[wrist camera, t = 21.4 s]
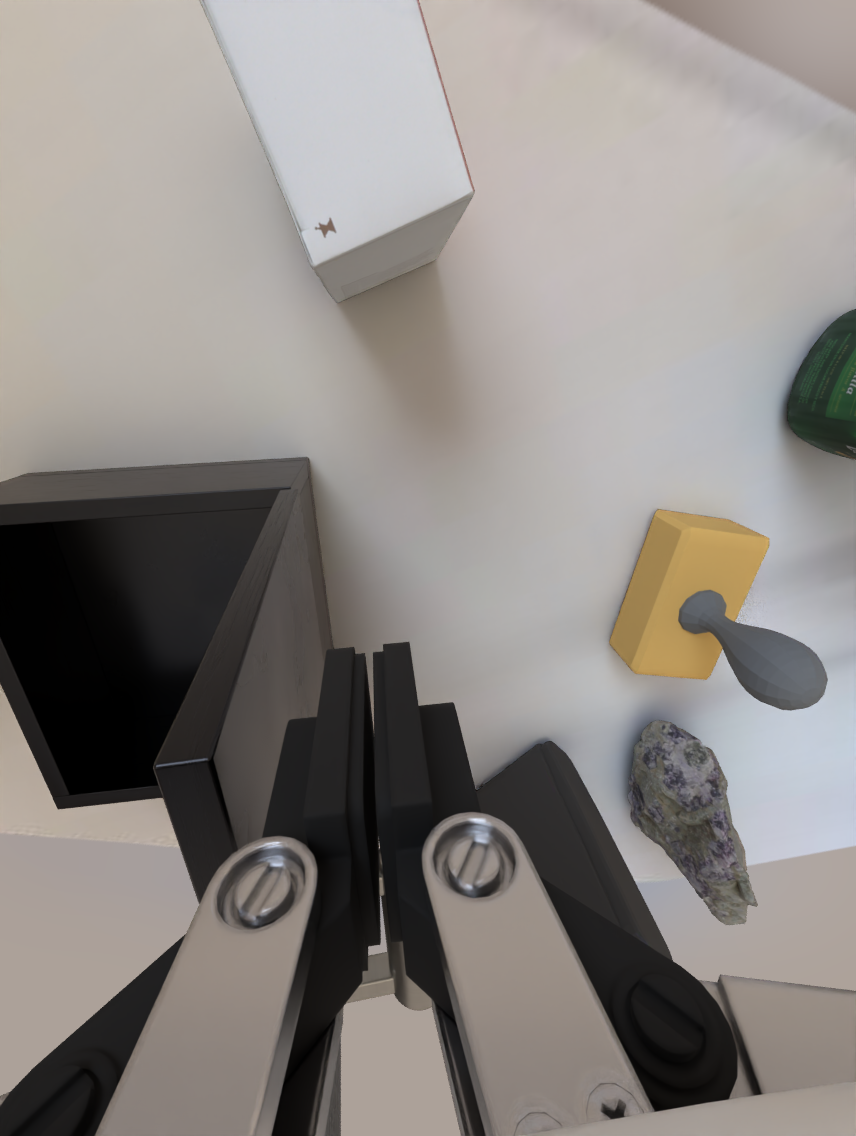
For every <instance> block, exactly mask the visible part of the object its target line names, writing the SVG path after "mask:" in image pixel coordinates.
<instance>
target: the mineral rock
mask: <svg viewBox="0 0 856 1136" xmlns="http://www.w3.org/2000/svg"><path fill="white" fill-rule="evenodd" d="M629 785H630V786H631V791H630V793H629V795H628V800H629V802H630V804H631V819H632V822H633V823H634V824H635V826H637V827H639V828H640V829H641V831H642V832H643V833H644V834H645V835H646V836H647V837H649V838H650V839H651V840H653V841H654V842H655V843H657V844H659V845H660V846H661V847H662V848H663V849H664V850H665V852H666V854H667V855H668V856H669V857H670V858H671V859H672V860H673V861H674V863H675V864H676V865H677V867H678V868H679V870H680V871H681V873H682V874H683V875H684V876H685V877H686V878H687V880H688V881H689V883H690V884H691V885H692V886H693V888H694V889H695V891H696V893H697V894H698V895H699V897H700V898H702V899H703V900H704V902H705V903H706V905H707V906H708V908H709V909H710V911H711V913H712V914H713V915H714V916H715V917H716V918H717V919H718V920H719V921H720V922H722V923H724V924H726V925H735V924H744V923H745V922H746V913H747V905H752V906H756V907H757V906H758V904H757V901H756V899H755V896H754V893H753V891H752V889H751V884H750V881H749V875H748V873H747V872H746V870H747V867H746V860H745V850H744V847H743V845H742V843H741V840H740V838H739V835H738V833H737V831H736V830H735V828H734V827H733V824H732V819H731V813H730V807H729V803H728V799H727V795H726V790H727V786H728V785H727V780H726V778H725V776H724V774H723V772H722V770H721V767H720V766H719V762H718V761H717V758H716V756H715V754H714V753H713V751H712V750H711V749H710V748H708V747H705V746H703V745H702V743H701V741H700V740H699V739H697V738H695V737H694V736H692V735H691V734H689V733H688V732H686V731H685V730H683V729H680V728H678V727H676V725H674V724H672V723H671V722H665V721H654V722H651V723H650V724H649V725H648V726H647V727H646V728H645V730H644V731H643V733H642V735H641V740H640V741H639V742H638V743H637V744H636V745H635V748H634V762H633V764H632V773H631V775H630V778H629Z"/></svg>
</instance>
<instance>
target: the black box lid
mask: <svg viewBox="0 0 856 1136" xmlns="http://www.w3.org/2000/svg"><path fill="white" fill-rule="evenodd" d="M323 671H324V662H323V655H322V648H321V641H320V634H319V627H318V620H317V613H316V606H315V599H314V592H313V585H312V578H311V571H310V564H309V557H308V550H307V543H306V536H305V529H304V522H303V515H302V508H301V501H300V494H299V490H298V489H289V490H280V492H279V494H278V496H277V498H276V500H275V502H274V505H273V507H272V509H271V511H270V513H269V515H268V518H267V520H266V522H265V524H264V526H263V528H262V531H261V533H260V535H259V537H258V539H257V541H256V544H255V546H254V548H253V550H252V552H251V555H250V557H249V559H248V561H247V563H246V565H245V568H244V570H243V572H242V574H241V576H240V578H239V581H238V583H237V585H236V587H235V589H234V591H233V594H232V596H231V598H230V600H229V602H228V604H227V607H226V609H225V611H224V613H223V615H222V617H221V620H220V622H219V624H218V626H217V628H216V630H215V633H214V635H213V637H212V639H211V641H210V643H209V646H208V648H207V650H206V652H205V654H204V656H203V659H202V661H201V663H200V665H199V667H198V669H197V672H196V674H195V676H194V678H193V680H192V683H191V685H190V687H189V689H188V691H187V693H186V696H185V698H184V700H183V702H182V704H181V706H180V709H179V711H178V713H177V715H176V717H175V719H174V722H173V724H172V726H171V728H170V730H169V732H168V735H167V737H166V739H165V741H164V743H163V745H162V748H161V750H160V752H159V754H158V756H157V758H156V761H155V763H154V766H153V769H154V772H155V775H156V778H157V781H158V784H159V787H160V790H161V793H162V796H163V799H164V802H165V805H166V808H167V811H168V814H169V817H170V820H171V823H172V825H173V828H174V831H175V834H176V837H177V840H178V843H179V846H180V849H181V852H182V855H183V858H184V861H185V863H186V867H187V870H188V873H189V875H190V879H191V881H192V884H193V888H194V891H195V893H196V896H197V899H198V902H199V904H200V902H201V900H202V898H203V896H204V893H205V891H206V889H207V887H208V885H209V883H210V881H211V879H212V878H213V876H214V875H215V873H216V871H217V870H218V868H219V867H220V866H221V865H222V864H223V863H224V862H225V861H226V860H227V859H228V858H229V857H230V856H231V855H232V854H233V853H235V852H236V851H238V850H239V849H241V848H242V847H244V846H245V845H247V844H249V843H251V842H254V841H257V840H259V839H262V835H263V830H264V826H265V821H266V817H267V812H268V808H269V803H270V799H271V794H272V790H273V785H274V781H275V776H276V772H277V767H278V762H279V758H280V753H281V749H282V744H283V740H284V735H285V731H286V727H287V724H288V721H289V720H290V719H299V718H308V717H317V712H318V705H319V698H320V692H321V685H322V678H323ZM379 882H380V896H381V899H382V907H383V916H384V925H385V934H386V943H387V952H385V953H380V954H375V955H370V956H368V971H363V982H362V983H361V984H360V986H359V987H358V988H357V989H356V991H355V992H354V993H353V995H352V996H351V997H350V998H349V1000H348V1001H347V1002H346V1003H350V1002H355V1001H360V1000H364V999H369V998H374V997H379V996H384V995H389V994H395V996H396V998H397V999H398V1001H399V1002H400V1003H401V1004H402V1005H404V1006H405V1007H407V1008H409V1009H412V1010H426V1009H428V1008H431V1007H432V1001H431V998H430V997H429V996H428V995H427V994H426V993H425V992H424V991H423V990H421V989H420V988H419V987H418V986H417V985H416V984H415V983H414V982H413V981H412V980H411V979H410V978H409V977H407V976H406V971H405V961H404V951H403V941H401V942H394V943H391V939H390V931H389V922H388V913H387V904H386V895H385V887H384V878H383V869H382V860H381V852H380V849H379ZM325 1136H341V1037H340V1043H339V1050H338V1056H337V1062H336V1068H335V1075H334V1081H333V1087H332V1094H331V1100H330V1106H329V1112H328V1119H327V1125H326V1131H325Z"/></svg>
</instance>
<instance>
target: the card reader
mask: <svg viewBox="0 0 856 1136" xmlns="http://www.w3.org/2000/svg"><path fill="white" fill-rule="evenodd" d="M476 794H477V798H478V802H479V806H480V810H481V813H483V814H488V815H491V816H493V817H495V818H498V819H500V820H502V821H503V822H504V823H506V824H507V825H508V826H509V827H511V828H512V829H513V830H514V831H515V833H516V834H517V835H518V837H519V838H520V840H521V841H522V843H523V845H524V847H525V849H526V851H527V853H528V855H529V857H530V859H531V861H532V863H533V865H534V867H535V869H536V871H537V873H538V875H539V876H540V877H542V878H543V879H545V880H546V881H548V882H550V883H551V884H553V885H554V886H556V887H557V888H559V889H561V890H562V891H564V892H565V893H567V894H568V895H570V896H572V897H573V898H575V899H576V900H578V901H579V902H581V903H582V904H584V905H586V906H587V907H589V908H590V909H592V910H593V911H595V912H597V913H598V914H600V915H601V916H603V917H604V918H606V919H607V920H609V921H611V922H612V923H614V924H615V925H617V926H618V927H620V928H622V929H623V930H625V931H626V932H628V933H629V934H631V935H633V936H634V937H636V938H637V939H639V940H640V941H642V942H643V943H645V944H647V945H648V946H650V947H651V948H653V949H654V950H656V951H658V952H659V953H661V954H662V955H664V956H665V957H667V958H669V959H670V960H672V956H671V954H670V951H669V949H668V947H667V945H666V943H665V941H664V939H663V937H662V935H661V933H660V931H659V929H658V927H657V925H656V923H655V921H654V919H653V917H652V915H651V913H650V911H649V909H648V907H647V905H646V903H645V901H644V899H643V897H642V895H641V893H640V891H639V889H638V887H637V885H636V883H635V881H634V879H633V877H632V875H631V873H630V871H629V869H628V867H627V865H626V864H625V862H624V860H623V858H622V856H621V854H620V852H619V850H618V848H617V846H616V844H615V842H614V840H613V838H612V836H611V834H610V832H609V830H608V828H607V826H606V824H605V822H604V820H603V818H602V816H601V815H600V813H599V811H598V809H597V807H596V805H595V803H594V802H593V800H592V798H591V796H590V794H589V792H588V791H587V789H586V787H585V785H584V783H583V781H582V780H581V778H580V776H579V774H578V772H577V770H576V768H575V767H574V765H573V763H572V761H571V760H570V758H569V757H568V756H567V754H566V753H565V752H564V751H562V750H561V749H560V748H559V747H558V746H557V745H556V744H554V743H553V742H552V741H548V742H546V743H545V744H543V745H541V744H537V745H536V746H535V747H533V748H532V749H531V750H529V751H528V752H527V753H526V754H524V755H523V756H522V757H520V758H519V759H518V760H516V761H515V762H514V763H513V764H511V765H510V766H509V767H507V768H506V769H505V770H503V771H502V772H501V773H500V774H498V775H497V776H496V777H494V778H493V779H492V780H490V781H489V782H488V783H487V784H485V785H484V786H483V787H481V788H480V789H479V790H477V791H476ZM672 961H673V960H672Z"/></svg>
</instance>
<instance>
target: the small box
mask: <svg viewBox="0 0 856 1136" xmlns="http://www.w3.org/2000/svg"><path fill="white" fill-rule="evenodd" d="M199 1H200V3H201V5H202V7H203V10H204V12H205V14H206V16H207V18H208V21H209V23H210V25H211V28H212V30H213V32H214V34H215V37H216V39H217V41H218V44H219V46H220V48H221V51H222V53H223V55H224V57H225V60H226V62H227V64H228V67H229V69H230V71H231V74H232V76H233V79H234V81H235V83H236V86H237V88H238V90H239V93H240V95H241V97H242V100H243V102H244V104H245V107H246V109H247V112H248V114H249V116H250V119H251V121H252V123H253V126H254V128H255V130H256V133H257V135H258V137H259V140H260V142H261V145H262V147H263V149H264V152H265V154H266V156H267V159H268V161H269V163H270V166H271V168H272V170H273V173H274V175H275V178H276V180H277V182H278V185H279V187H280V190H281V192H282V194H283V197H284V199H285V201H286V204H287V206H288V209H289V211H290V213H291V216H292V219H293V221H294V224H295V226H296V229H297V231H298V234H299V237H300V239H301V242H302V244H303V247H304V250H305V252H306V255H307V258H308V261H309V263H310V265H311V267H312V268H313V270H314V271H315V273H316V274H317V276H318V277H319V278H320V280H321V282H322V283H323V285H324V287H325V288H326V289H327V291H328V293H329V294H330V295H331V297H332V298H333V299H334V301H335V302H336V303H339V302H341V301H344V300H346V299H348V298H350V297H352V296H355V295H357V294H359V293H362V292H364V291H366V290H368V289H371V288H373V287H375V286H378V285H380V284H382V283H384V282H387V281H389V280H391V279H393V278H396V277H398V276H400V275H402V274H405V273H407V272H409V271H412V270H414V269H416V268H418V267H421V266H423V265H425V264H427V263H430V262H432V261H434V260H436V259H437V257H438V255H439V254H440V252H441V250H442V249H443V247H444V245H445V244H446V242H447V240H448V239H449V237H450V235H451V233H452V232H453V230H454V228H455V226H456V225H457V223H458V221H459V220H460V218H461V217H462V215H463V213H464V211H465V209H466V208H467V206H468V204H469V202H470V201H471V199H472V197H473V195H474V192H475V190H474V187H473V184H472V181H471V177H470V174H469V170H468V167H467V164H466V160H465V157H464V153H463V150H462V146H461V143H460V140H459V136H458V133H457V130H456V126H455V123H454V120H453V116H452V113H451V109H450V106H449V103H448V99H447V96H446V92H445V89H444V85H443V82H442V78H441V75H440V72H439V68H438V65H437V61H436V58H435V55H434V51H433V48H432V45H431V41H430V38H429V34H428V31H427V27H426V24H425V20H424V17H423V14H422V10H421V7H420V3H419V0H199Z"/></svg>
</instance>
